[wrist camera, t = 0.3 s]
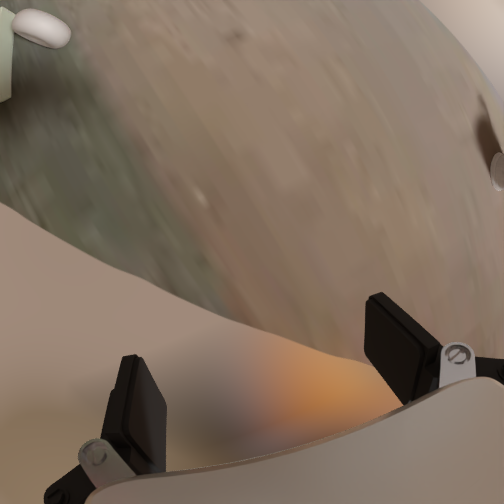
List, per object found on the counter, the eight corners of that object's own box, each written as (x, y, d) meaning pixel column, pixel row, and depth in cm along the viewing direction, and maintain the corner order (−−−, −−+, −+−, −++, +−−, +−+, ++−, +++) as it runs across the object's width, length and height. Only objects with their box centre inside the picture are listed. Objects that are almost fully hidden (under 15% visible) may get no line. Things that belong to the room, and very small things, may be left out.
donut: (85, 37, 28) (58, 11, 19) (72, 57, 29) (41, 37, 19) (40, 23, 25) (10, 1, 15) (28, 42, 25) (-5, 24, 16)
